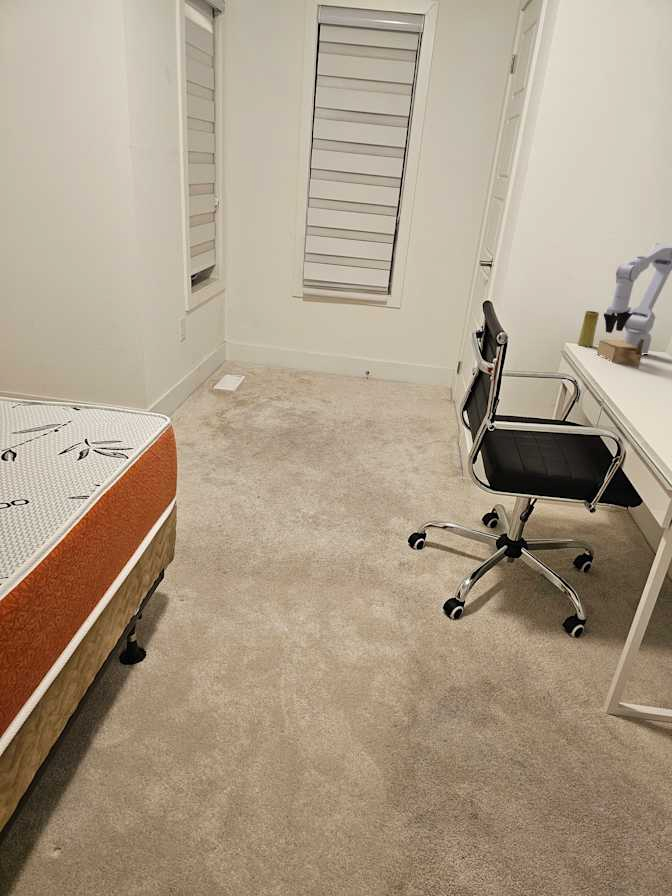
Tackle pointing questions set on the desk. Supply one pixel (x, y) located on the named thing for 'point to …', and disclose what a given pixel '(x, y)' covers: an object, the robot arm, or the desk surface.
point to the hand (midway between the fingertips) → (613, 331)
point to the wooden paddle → (629, 355)
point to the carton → (613, 347)
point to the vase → (588, 328)
